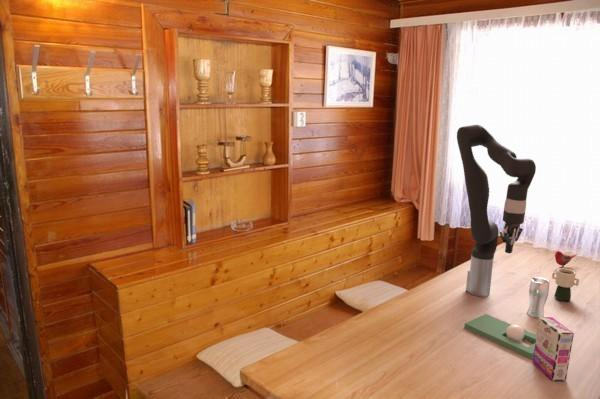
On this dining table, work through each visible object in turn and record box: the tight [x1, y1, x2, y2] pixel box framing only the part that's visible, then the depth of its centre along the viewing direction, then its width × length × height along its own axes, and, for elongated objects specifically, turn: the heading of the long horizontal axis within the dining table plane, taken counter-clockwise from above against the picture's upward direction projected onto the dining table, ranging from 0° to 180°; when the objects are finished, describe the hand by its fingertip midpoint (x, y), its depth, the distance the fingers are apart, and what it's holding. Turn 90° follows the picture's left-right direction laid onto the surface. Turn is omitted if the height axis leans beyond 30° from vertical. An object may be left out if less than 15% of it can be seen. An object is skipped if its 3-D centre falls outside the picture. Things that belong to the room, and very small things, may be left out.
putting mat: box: [463, 313, 537, 360], centre depth 172 cm, size 26×14×2 cm, turn 37°
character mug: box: [551, 268, 580, 301], centre depth 204 cm, size 11×7×13 cm, turn 39°
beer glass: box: [527, 276, 550, 319], centre depth 189 cm, size 7×7×15 cm
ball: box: [506, 324, 524, 343], centre depth 169 cm, size 6×6×6 cm
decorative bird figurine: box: [554, 250, 578, 269], centre depth 242 cm, size 3×18×10 cm, turn 115°
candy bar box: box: [532, 316, 575, 382], centre depth 150 cm, size 11×5×16 cm, turn 5°
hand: (508, 252), depth 184 cm, fingers closed
